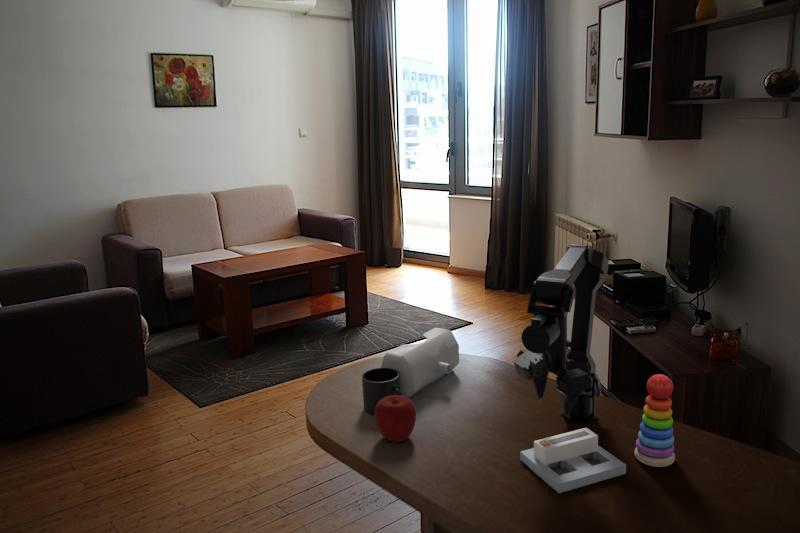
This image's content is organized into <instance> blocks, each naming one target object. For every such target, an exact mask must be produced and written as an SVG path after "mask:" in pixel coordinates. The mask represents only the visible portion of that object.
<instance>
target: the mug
mask: <svg viewBox="0 0 800 533" xmlns="http://www.w3.org/2000/svg"><path fill="white" fill-rule="evenodd" d="M361 382H362V384H361V387H362V399H363V400H362V401H363V409H364V412H366V413H367V414H369V415H371V416H375V407H376V405H377V403H378V402H379V401H380V400H381V399H382V398H384V397H387V396H391V395H401V393H400V375H399V372H398V371H396V370H394V369H390V368H381V367H378V368H371V369H369V370H367V371H365V372H363V373H362V375H361Z"/></svg>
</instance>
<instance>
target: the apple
mask: <svg viewBox="0 0 800 533" xmlns="http://www.w3.org/2000/svg"><path fill="white" fill-rule="evenodd" d="M374 420H375V425H376V427H377V430H378V431H379V433H380V434H381V435H382V436H383V437H384V438H385V439H387V440H389V441H391V442H396V443H399V442H403V441H405V440H407V439H408V438H409V437H410V436H411V435H412V433H413V431H414V429H415V425H416V420H417V408H416V405H415V403H414V402H413V400H412V399H411V398H408V397H406V396H402V395H391V396H387V397H384V398H382V399H381V400H380V401H379V402H378V403H377V405H376V407H375V415H374Z"/></svg>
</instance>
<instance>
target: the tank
mask: <svg viewBox="0 0 800 533" xmlns="http://www.w3.org/2000/svg"><path fill="white" fill-rule="evenodd" d="M421 335H422V337H423V338H425V339H426V340H425V341H423V342H420V343H413V344H409V343H405V344H401V345H399V346H397V347H395V348H393V349H392V350H390V351H388V352H386V353H385V355H384V356H383V358H382V362H381V365H380V368H390V369H394V370H396V371H398V372H399V375H400V393H401V395H402V396H406V397H408V398H409V399H411V397H413V396H415V395H416V394H417V393H419V392H420V391H423V390H424V389H425V388H427V387H428V386H430V385H432V384H433V383H435V382H436V381H438V380H440V379H441V378H443V377H444V376H446V375H449V374H451V372H452V371H453V370H454V369H455V368H456V367H457V366H458V365H459V363H460V346H459V343H458V341H457V339H456V337H455V334H453V332H452V330H451V329H446V328H441V327H433V328H432V329H430V330H428V331H426V332H424V333H422V334H421Z"/></svg>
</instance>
